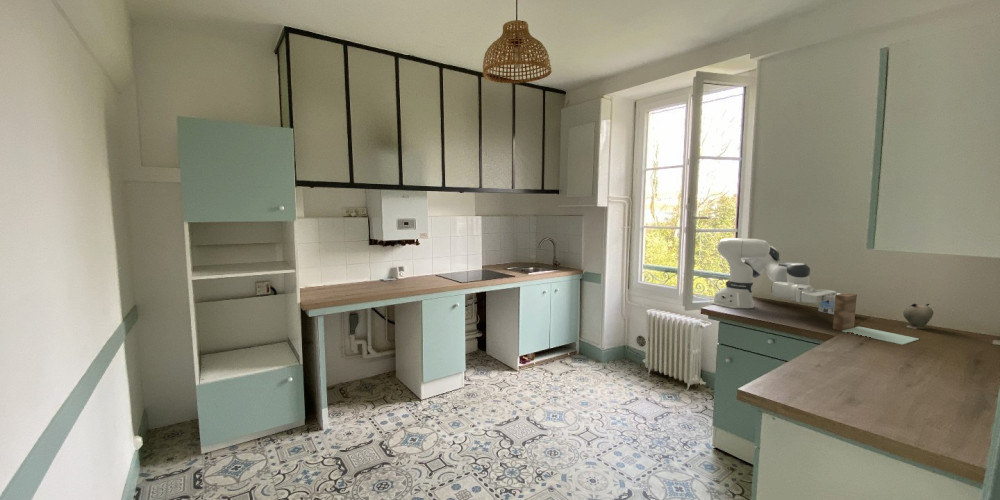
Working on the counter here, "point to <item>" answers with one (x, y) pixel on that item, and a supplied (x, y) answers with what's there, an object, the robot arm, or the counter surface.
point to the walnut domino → (844, 311)
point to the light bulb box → (827, 306)
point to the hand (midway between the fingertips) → (838, 299)
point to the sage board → (882, 335)
